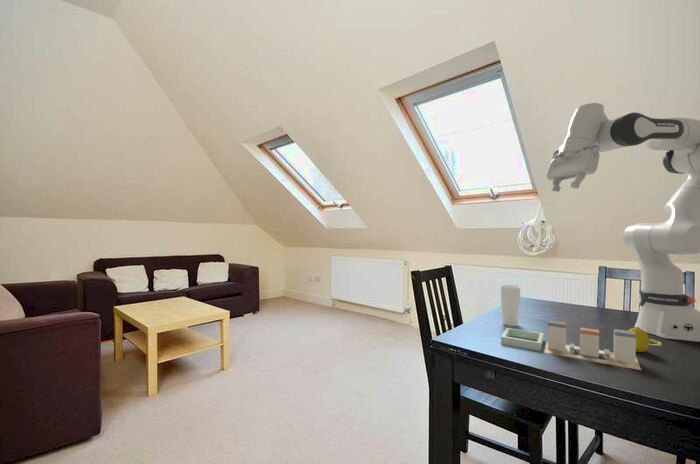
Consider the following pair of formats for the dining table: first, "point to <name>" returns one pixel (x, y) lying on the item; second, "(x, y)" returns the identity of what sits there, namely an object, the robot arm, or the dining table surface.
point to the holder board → (611, 361)
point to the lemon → (641, 339)
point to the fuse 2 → (624, 346)
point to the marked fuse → (589, 342)
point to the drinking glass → (510, 304)
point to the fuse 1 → (557, 335)
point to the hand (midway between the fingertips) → (564, 189)
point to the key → (655, 342)
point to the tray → (521, 342)
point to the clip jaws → (606, 351)
